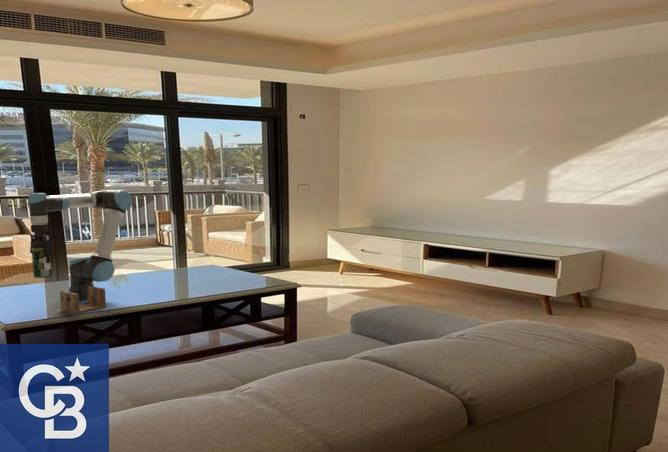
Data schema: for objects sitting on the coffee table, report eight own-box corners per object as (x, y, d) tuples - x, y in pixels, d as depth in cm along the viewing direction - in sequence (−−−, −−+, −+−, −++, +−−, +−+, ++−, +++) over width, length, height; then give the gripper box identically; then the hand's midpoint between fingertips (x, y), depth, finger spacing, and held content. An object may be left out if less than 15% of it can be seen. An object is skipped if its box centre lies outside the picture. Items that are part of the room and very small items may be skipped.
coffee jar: (32, 275, 257) (30, 239, 256) (50, 274, 262) (48, 238, 260) (34, 279, 249) (31, 241, 248) (52, 277, 254) (50, 240, 252)
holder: (59, 311, 263) (58, 291, 262) (91, 303, 278) (90, 285, 277) (75, 314, 255) (74, 294, 254) (107, 307, 270) (106, 288, 269)
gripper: (20, 223, 256) (23, 267, 258) (43, 225, 244) (46, 271, 246) (35, 222, 262) (38, 265, 264) (59, 224, 250) (61, 269, 252)
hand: (42, 268), depth 255 cm, fingers closed on coffee jar, 9 cm apart
